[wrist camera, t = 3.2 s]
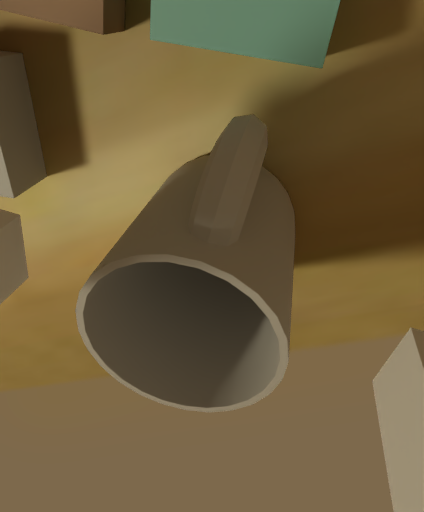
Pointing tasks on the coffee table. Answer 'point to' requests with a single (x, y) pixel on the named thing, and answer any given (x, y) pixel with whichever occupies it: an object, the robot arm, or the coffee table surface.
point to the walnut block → (73, 13)
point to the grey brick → (17, 129)
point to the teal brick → (249, 27)
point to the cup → (200, 283)
